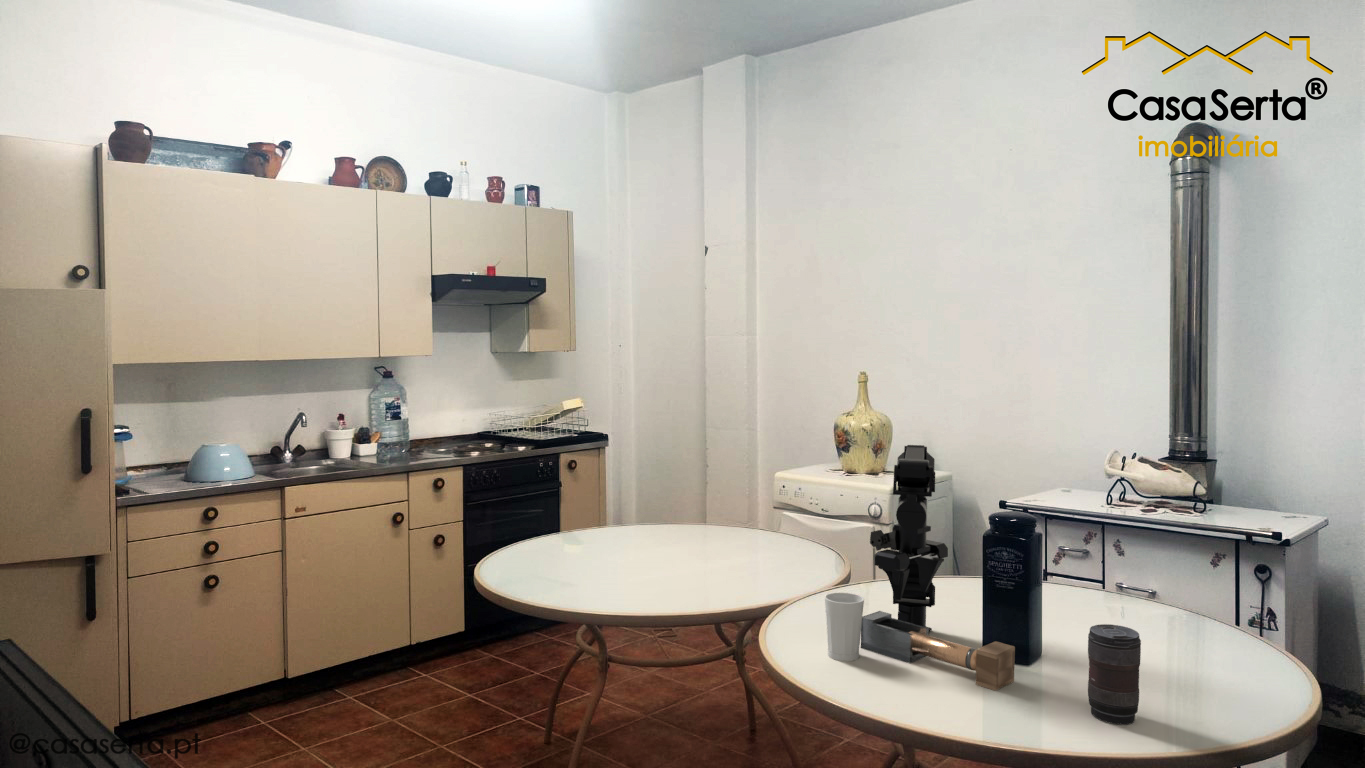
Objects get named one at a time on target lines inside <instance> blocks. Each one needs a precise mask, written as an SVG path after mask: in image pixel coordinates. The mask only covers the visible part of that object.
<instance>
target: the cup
mask: <svg viewBox="0 0 1365 768" xmlns="http://www.w3.org/2000/svg"><path fill="white" fill-rule="evenodd" d="M864 604H865V597H863V596H861V595H859V594H856V593H852V592H830V593H827V594H825V595H824V606H825V607H824V608H825V618H826V635H827V657H829V658H830V659H832V660H835V661H840V662H852V661H856V660H858V659H859V658H860V647H861V624H862V616H864V615H863V614H864Z"/></svg>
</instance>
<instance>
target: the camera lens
mask: <svg viewBox="0 0 1365 768" xmlns="http://www.w3.org/2000/svg"><path fill="white" fill-rule="evenodd" d="M1087 637H1088V640H1087V656H1088V666H1089V667H1088V681H1087V696H1088V704H1089V706H1090V713H1091V715H1092V716H1093V717H1094V718H1096V719H1098V720H1100V721H1102V722H1105V723H1109V724H1113V725H1121V724H1124V725H1130V724H1129V723H1131V724H1133V723H1134V722H1135V721H1136V718H1135V717H1136V714H1137V713H1138V710H1139V702H1140V666H1141V653H1142V652H1141V651H1142V647H1141V645H1142V640H1141V638H1140V633H1139V632H1138V631H1137V630H1135V629H1133V628H1130V627H1127V626H1123V625H1118V624H1117V625H1116V624H1109V623H1108V624H1107V623H1103V624H1095V625H1092V626H1090V627H1089V633H1088V636H1087ZM1133 721H1134V722H1133ZM1132 722H1133V723H1132Z"/></svg>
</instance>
